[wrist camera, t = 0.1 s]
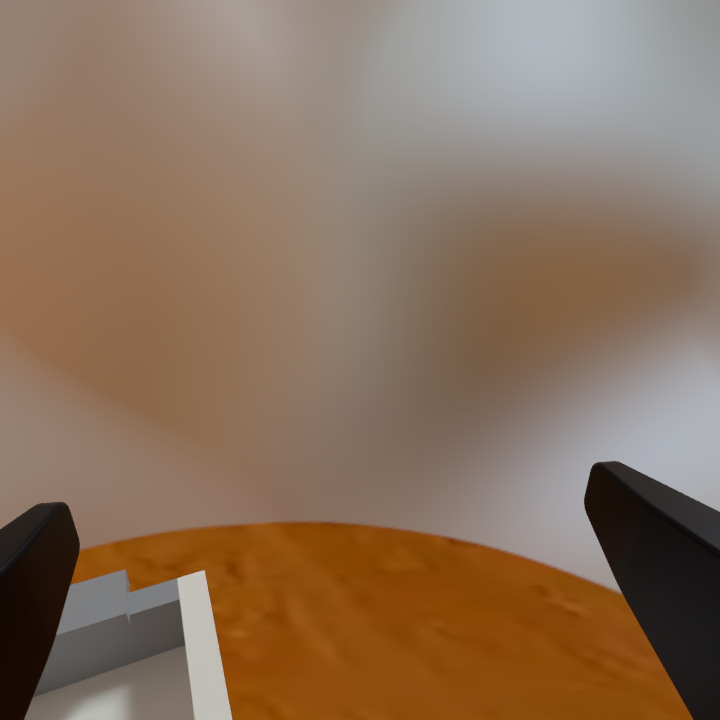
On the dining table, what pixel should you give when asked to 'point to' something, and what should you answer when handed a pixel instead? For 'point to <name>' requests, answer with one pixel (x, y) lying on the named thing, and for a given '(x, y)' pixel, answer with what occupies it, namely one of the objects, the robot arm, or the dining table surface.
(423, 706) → the dining table surface
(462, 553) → the dining table surface
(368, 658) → the dining table surface
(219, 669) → the bracket
